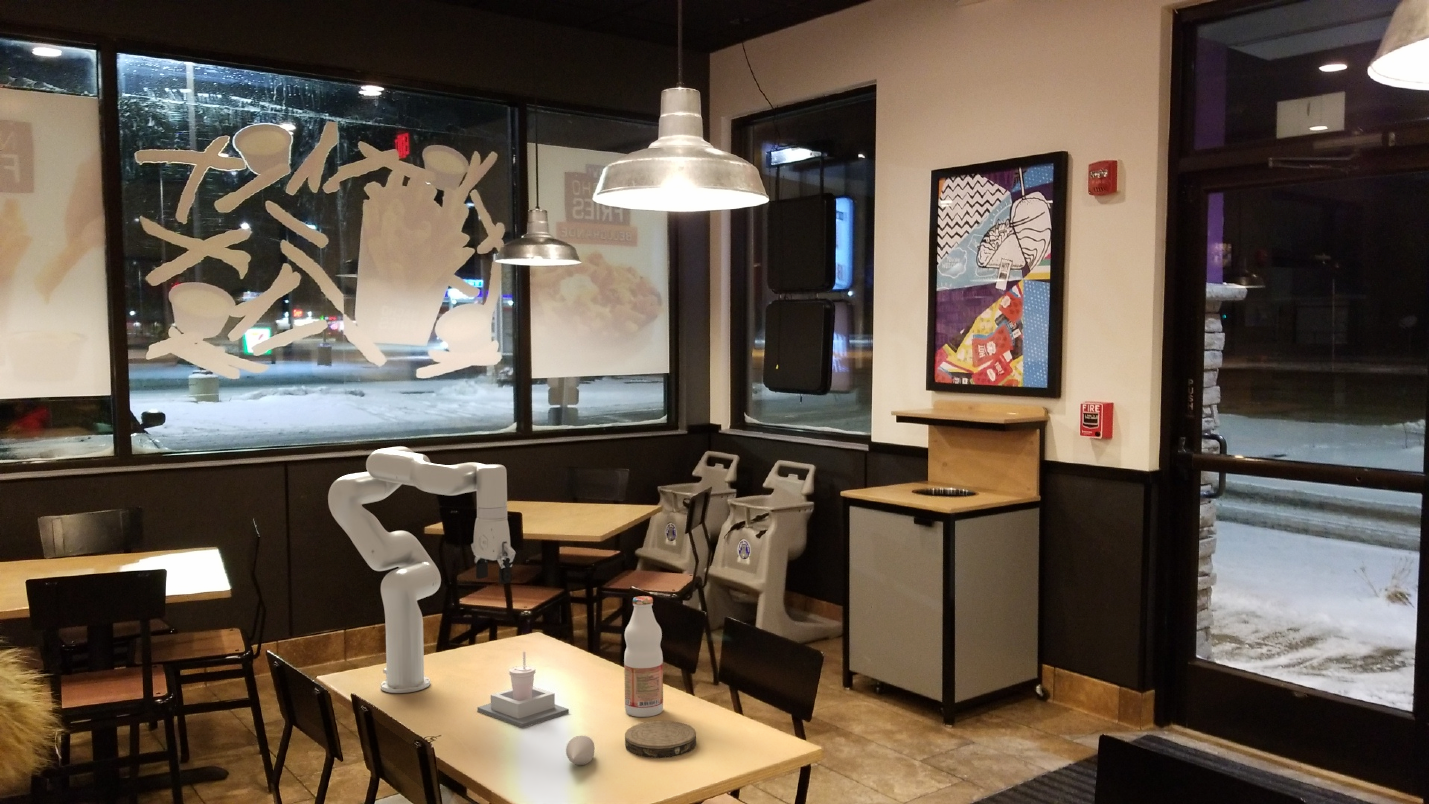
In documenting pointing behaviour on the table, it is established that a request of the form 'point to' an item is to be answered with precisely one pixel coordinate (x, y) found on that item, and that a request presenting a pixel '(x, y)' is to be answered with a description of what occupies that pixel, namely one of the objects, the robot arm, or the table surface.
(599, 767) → the table surface
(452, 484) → the robot arm
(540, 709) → the cup holder
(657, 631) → the fruit juice
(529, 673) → the smoothie
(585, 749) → the beige pointed round piece
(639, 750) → the brown flat round piece
